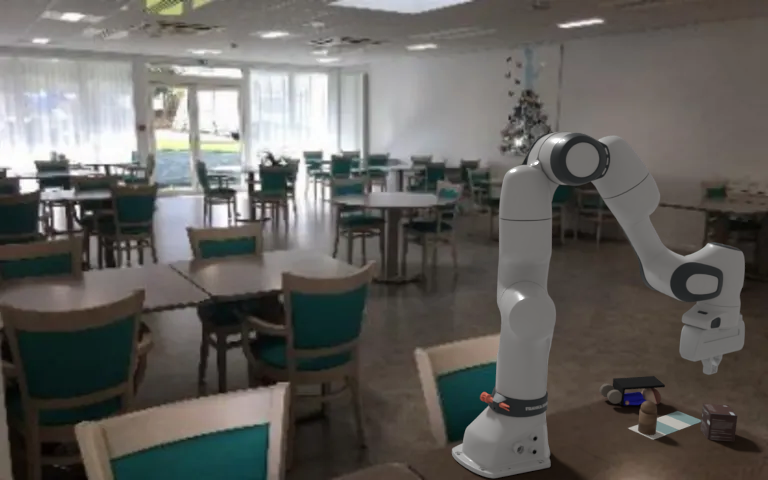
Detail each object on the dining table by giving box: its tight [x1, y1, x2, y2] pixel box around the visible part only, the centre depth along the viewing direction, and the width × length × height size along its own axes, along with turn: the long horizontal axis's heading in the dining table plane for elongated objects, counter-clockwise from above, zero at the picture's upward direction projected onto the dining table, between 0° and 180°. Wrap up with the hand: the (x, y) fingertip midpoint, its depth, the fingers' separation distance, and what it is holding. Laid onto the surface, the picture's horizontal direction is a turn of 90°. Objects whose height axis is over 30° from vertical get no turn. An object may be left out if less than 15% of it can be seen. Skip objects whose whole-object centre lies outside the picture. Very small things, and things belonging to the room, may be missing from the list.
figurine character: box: [599, 375, 666, 407], centre depth 175 cm, size 7×8×15 cm
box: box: [699, 403, 738, 442], centre depth 157 cm, size 6×6×7 cm
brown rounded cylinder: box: [637, 401, 659, 435], centre depth 158 cm, size 4×4×8 cm
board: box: [627, 410, 701, 440], centre depth 163 cm, size 20×7×1 cm, turn 123°
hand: (709, 373), depth 152 cm, fingers closed
